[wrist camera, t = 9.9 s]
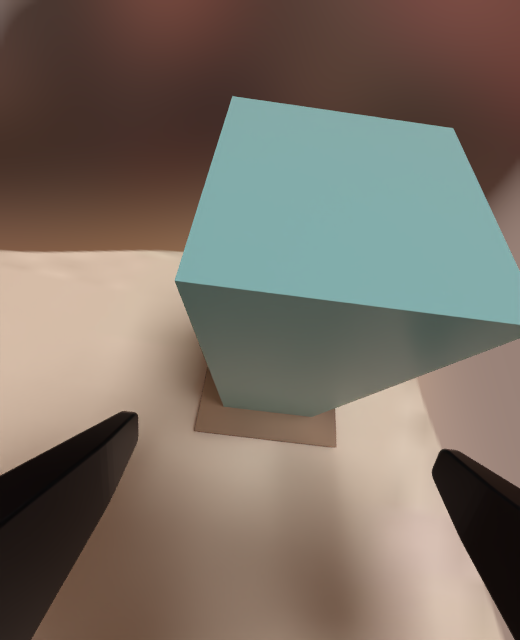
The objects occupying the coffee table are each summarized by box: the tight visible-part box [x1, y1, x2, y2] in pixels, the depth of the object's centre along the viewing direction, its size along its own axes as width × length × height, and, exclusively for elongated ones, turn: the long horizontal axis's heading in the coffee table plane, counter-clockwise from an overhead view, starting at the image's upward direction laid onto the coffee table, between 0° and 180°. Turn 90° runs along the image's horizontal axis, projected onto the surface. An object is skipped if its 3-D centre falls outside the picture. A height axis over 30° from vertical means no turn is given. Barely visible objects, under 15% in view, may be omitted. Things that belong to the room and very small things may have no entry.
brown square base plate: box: [195, 367, 336, 447], centre depth 14 cm, size 8×8×4 cm
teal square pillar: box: [175, 96, 520, 417], centre depth 10 cm, size 5×5×12 cm
